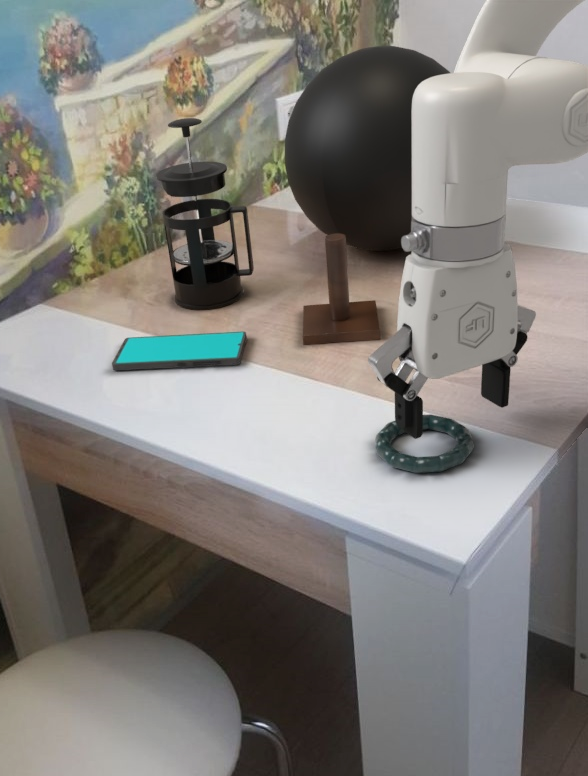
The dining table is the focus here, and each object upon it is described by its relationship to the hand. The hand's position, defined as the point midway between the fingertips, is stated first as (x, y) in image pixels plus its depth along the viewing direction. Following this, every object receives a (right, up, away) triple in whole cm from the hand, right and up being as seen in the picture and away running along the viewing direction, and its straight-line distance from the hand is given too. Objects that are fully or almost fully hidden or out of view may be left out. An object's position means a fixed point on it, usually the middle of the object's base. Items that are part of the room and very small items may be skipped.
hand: (452, 416), depth 81 cm
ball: (0, +27, +49) cm, 56 cm away
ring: (-3, -2, 0) cm, 4 cm away
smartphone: (-27, +8, +23) cm, 37 cm away
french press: (-25, +17, +38) cm, 49 cm away
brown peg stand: (-8, +12, +25) cm, 29 cm away
